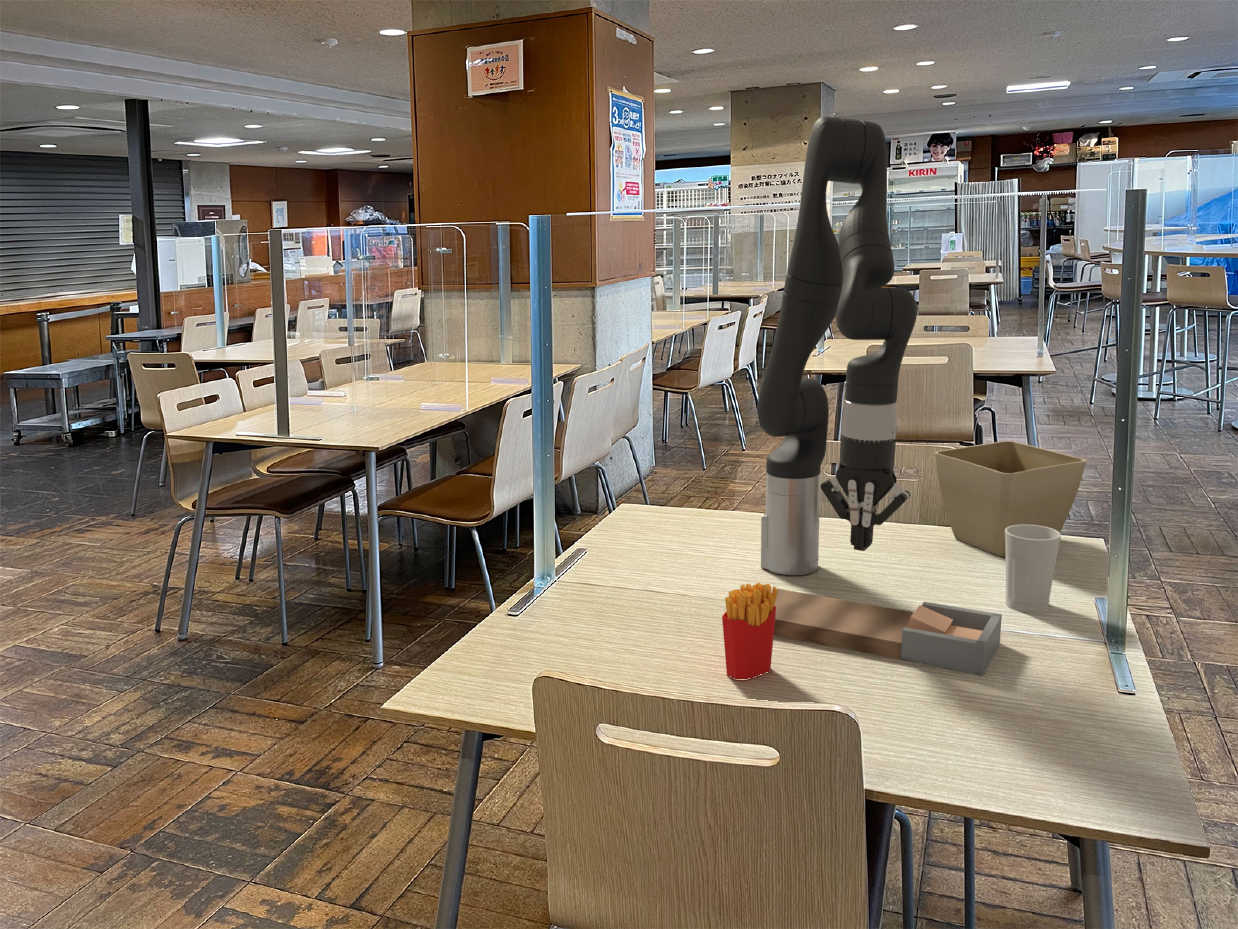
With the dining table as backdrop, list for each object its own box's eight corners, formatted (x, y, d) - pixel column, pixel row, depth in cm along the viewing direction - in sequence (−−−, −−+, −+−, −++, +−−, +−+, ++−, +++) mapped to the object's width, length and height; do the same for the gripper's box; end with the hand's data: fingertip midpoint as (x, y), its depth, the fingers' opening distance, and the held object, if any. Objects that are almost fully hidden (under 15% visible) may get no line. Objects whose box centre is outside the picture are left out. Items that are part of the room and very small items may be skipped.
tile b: (941, 654, 142) (942, 637, 141) (950, 641, 146) (950, 625, 145) (978, 661, 139) (979, 644, 139) (986, 648, 143) (987, 631, 143)
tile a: (904, 631, 144) (910, 616, 143) (914, 619, 148) (919, 604, 147) (938, 647, 142) (944, 632, 141) (947, 634, 146) (953, 619, 145)
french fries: (736, 685, 135) (736, 600, 132) (716, 674, 138) (716, 591, 135) (782, 668, 139) (784, 585, 137) (763, 658, 143) (764, 577, 140)
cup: (1059, 616, 155) (1065, 541, 152) (1004, 613, 157) (1009, 538, 154) (1048, 597, 163) (1054, 525, 160) (996, 594, 164) (1001, 523, 161)
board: (747, 629, 152) (747, 614, 152) (776, 603, 163) (777, 588, 162) (900, 659, 141) (901, 643, 141) (922, 629, 151) (923, 613, 151)
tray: (900, 659, 141) (902, 630, 140) (922, 629, 151) (924, 601, 150) (982, 675, 136) (985, 645, 135) (999, 643, 146) (1001, 614, 145)
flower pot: (1000, 566, 177) (1007, 472, 173) (927, 536, 194) (931, 450, 190) (1081, 550, 184) (1089, 460, 180) (1003, 523, 201) (1009, 439, 197)
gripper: (813, 431, 142) (808, 548, 147) (907, 443, 136) (898, 565, 140) (832, 421, 148) (826, 533, 153) (923, 432, 142) (914, 549, 146)
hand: (861, 548), depth 147 cm, fingers closed
